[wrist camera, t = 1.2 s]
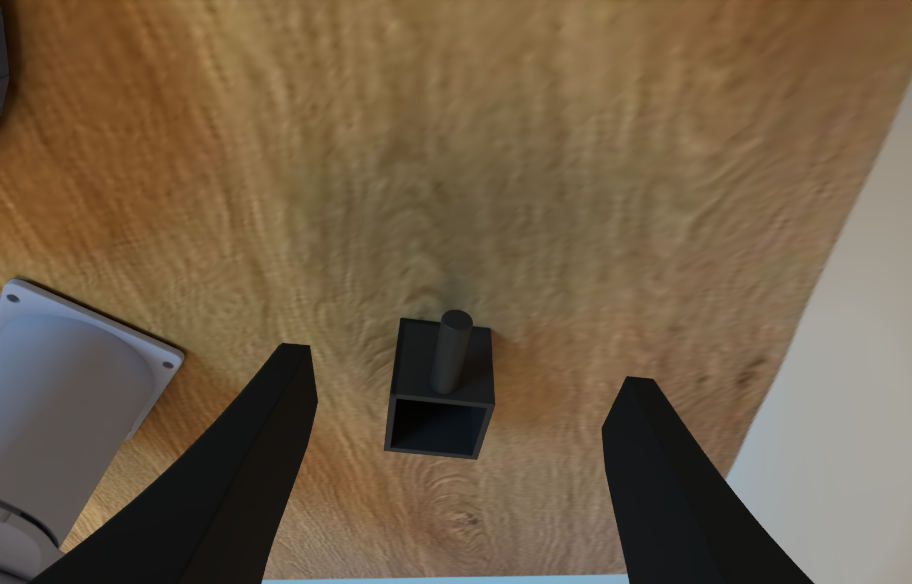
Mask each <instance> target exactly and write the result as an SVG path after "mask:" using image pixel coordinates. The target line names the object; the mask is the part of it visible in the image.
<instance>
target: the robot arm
mask: <svg viewBox="0 0 912 584" xmlns="http://www.w3.org/2000/svg"><path fill="white" fill-rule="evenodd" d="M184 358H185V356H184V354H183V353H182V352H181V351H180V350H178V349H176V348H174V347H171V346H169V345H167V344H165V343H162V342H160V341H158V340H156V339H153V338H151V337H149V336H147V335H144V334H142V333H140V332H138V331H135V330H133V329H131V328H129V327H126V326H124V325H122V324H120V323H117V322H115V321H113V320H111V319H108V318H106V317H104V316H102V315H99V314H97V313H95V312H93V311H90V310H88V309H86V308H84V307H81V306H79V305H77V304H75V303H72V302H70V301H68V300H66V299H63V298H61V297H59V296H57V295H55V294H52V293H50V292H48V291H46V290H43V289H41V288H39V287H37V286H34V285H32V284H30V283H28V282H25V281H23V280H20V279H11V280H9V281H8V282H7V283H6V284H5V285H4V287H3V290H2V293H1V297H0V584H261V583H262V579H263V575H264V571H265V567H266V563H267V560H268V556H269V553H270V550H271V547H272V544H273V541H274V538H275V535H276V532H277V529H278V526H279V524H280V521H281V518H282V515H283V513H284V510H285V507H286V504H287V502H288V499H289V496H290V493H291V490H292V488H293V485H294V482H295V479H296V477H297V474H298V471H299V468H300V465H301V462H302V460H303V457H304V454H305V451H306V448H307V445H308V442H309V438H310V434H311V430H312V426H313V421H314V417H315V412H316V408H317V404H318V398H317V391H316V384H315V377H314V370H313V363H312V356H311V349H310V345H300V344H289V343H282V344H281V345H279V346H278V347H277V349H276V350H275V351H274V352H273V354H272V355H271V356H270V357H269V359H268V360H267V361H266V363H265V364H264V365H263V366H262V367H261V369H260V370H259V371H258V372H257V374H256V375H255V376H254V377H253V378H252V380H251V381H250V382H249V383H248V384H247V386H246V387H245V388H244V389H243V390H242V391H241V393H240V394H239V395H238V396H237V397H236V398H235V399H234V401H233V402H232V403H231V404H230V405H229V406H228V407H227V408H226V409H225V411H224V412H223V413H222V414H221V415H220V416H219V417H218V418H217V420H216V421H215V422H214V423H213V424H212V425H211V426H210V427H209V428H208V429H207V430H206V431H205V432H204V433H203V434H202V435H201V436H200V437H199V438H198V439H197V440H196V441H195V442H194V443H193V444H192V445H191V446H190V447H189V448H188V449H187V450H186V451H185V452H184V453H183V455H182V456H181V457H180V458H178V459H177V460H176V461H175V462H174V463H173V464H172V465H171V466H170V467H169V468H168V469H167V470H166V471H165V472H164V473H163V474H162V475H161V476H159V477H158V478H157V479H156V480H155V481H154V482H153V483H152V484H151V485H150V486H148V487H147V488H146V489H145V490H144V491H143V492H142V493H141V494H139V495H138V496H137V497H136V498H135V499H134V500H133V501H131V502H130V503H129V504H128V505H127V506H125V507H124V508H123V509H122V510H121V511H119V512H118V513H117V514H116V515H115V516H113V517H112V518H111V519H110V520H109V521H107V522H106V523H105V524H104V525H103V526H101V527H100V528H99V529H98V530H96V531H95V532H94V533H93V534H91V535H90V536H89V537H88V538H86V539H85V540H84V541H83V542H81V543H80V544H79V545H77V546H76V547H75V548H74V549H72V550H71V551H69V552H68V553H67V554H65V553H63V552H62V551H60V550H59V549H60V547H61V545H62V544H63V542H64V540H65V539H66V537H67V535H68V534H69V532H70V530H71V529H72V527H73V525H74V524H75V522H76V520H77V518H78V517H79V515H80V513H81V512H82V510H83V508H84V507H85V505H86V503H87V502H88V500H89V498H90V497H91V495H92V493H93V492H94V490H95V488H96V487H97V485H98V483H99V482H100V480H101V478H102V477H103V475H104V473H105V471H106V470H107V468H108V466H109V465H110V463H111V461H112V460H113V458H114V456H115V455H116V453H117V451H118V450H119V448H120V446H121V445H122V443H123V441H128V440H130V439H131V438H132V436H133V435H134V433H135V432H136V431H137V429H138V428H139V426H140V425H141V423H142V422H143V420H144V419H145V417H146V416H147V414H148V413H149V411H150V410H151V408H152V407H153V405H154V404H155V402H156V401H157V399H158V398H159V397H160V395H161V394H162V392H163V391H164V389H165V388H166V386H167V385H168V383H169V382H170V380H171V379H172V377H173V376H174V374H175V373H176V371H177V370H178V368H179V367H180V365H181V364H182V362H183V361H184ZM602 440H603V452H604V462H605V471H606V476H607V481H608V486H609V490H610V495H611V500H612V504H613V509H614V513H615V518H616V522H617V527H618V531H619V536H620V540H621V545H622V549H623V554H624V558H625V563H626V567H627V573H628V578H629V583H630V584H814V583H813V582H812V581H811V580H810V579H809V578H808V577H807V576H806V574H805V573H803V571H802V570H801V569H800V568H799V567H798V566H797V565H796V564H795V563H794V562H793V561H792V559H791V558H789V556H788V555H787V554H786V553H785V552H784V551H783V550H782V548H781V547H780V546H779V545H778V544H777V543H776V542H775V541H774V540H773V539H772V538H771V536H770V535H769V534H768V533H767V532H766V531H765V529H764V528H762V526H761V525H760V524H759V522H758V521H757V520H756V519H755V518H754V516H753V515H752V514H751V513H750V512H749V510H748V509H747V508H746V507H745V505H744V504H743V503H742V502H741V500H740V499H739V498H738V497H737V495H736V494H735V493H734V492H733V490H732V489H731V488H730V486H729V485H728V484H727V482H726V481H725V480H724V479H723V477H722V476H721V475H720V473H719V472H718V471H717V469H716V468H715V466H714V465H713V464H712V462H711V461H710V460H709V458H708V457H707V456H706V454H705V453H704V451H703V450H702V449H701V447H700V446H699V445H698V443H697V442H696V440H695V439H694V437H693V436H692V435H691V433H690V432H689V430H688V429H687V427H686V426H685V425H684V423H683V422H682V420H681V419H680V417H679V416H678V414H677V413H676V411H675V410H674V408H673V407H672V405H671V404H670V403H669V401H668V400H667V398H666V397H665V395H664V394H663V392H662V391H661V389H660V388H659V386H658V385H657V383H656V382H655V381H654V379H650V378H639V377H629V376H627V377H626V379H625V381H624V383H623V385H622V387H621V389H620V391H619V393H618V395H617V397H616V399H615V401H614V403H613V406H612V408H611V410H610V412H609V414H608V416H607V418H606V420H605V422H604V424H603V426H602Z"/></svg>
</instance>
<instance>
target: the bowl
mask: <svg viewBox="0 0 912 584" xmlns="http://www.w3.org/2000/svg"><path fill="white" fill-rule="evenodd" d="M1 12H2V8H1V6H0V117H1V113H2V109H3V104H4V100H5V95H6V91H7V87H8V82H9V78H10V75H9V64H8V55H7V47H6V38H5V30H4V21H3V15H2V13H1Z"/></svg>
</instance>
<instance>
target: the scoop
mask: <svg viewBox="0 0 912 584" xmlns="http://www.w3.org/2000/svg"><path fill="white" fill-rule="evenodd" d="M472 325H473V321H472V318H471V317H470V315H469V314H467V313H466V312H464V311H461V310H449V311H447V312H446V313H444V315H443V316H442V319H441V323H439V322H431V321H422V320H414V319H406V318H401V319H400V326H399V333H398V340H397V347H396V354H395V361H394V369H393V376H392V383H391V390H390V398H389V407H388V416H387V425H386V434H385V443H384V451H391V452H402V453H412V454H422V455H433V456H443V457H454V458H464V459H475V460H477V459H478V456H479V453H480V449H481V446H482V443H483V440H484V437H485V434H486V431H487V428H488V425H489V422H490V419H491V416H492V413H493V410H494V407H495V394H494V378H493V361H492V345H491V329H489V328H481V327H472Z"/></svg>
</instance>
